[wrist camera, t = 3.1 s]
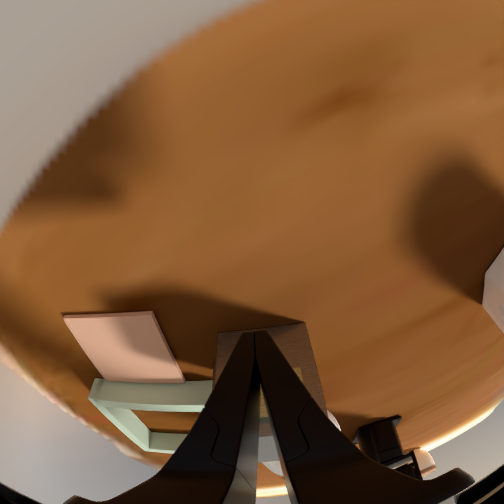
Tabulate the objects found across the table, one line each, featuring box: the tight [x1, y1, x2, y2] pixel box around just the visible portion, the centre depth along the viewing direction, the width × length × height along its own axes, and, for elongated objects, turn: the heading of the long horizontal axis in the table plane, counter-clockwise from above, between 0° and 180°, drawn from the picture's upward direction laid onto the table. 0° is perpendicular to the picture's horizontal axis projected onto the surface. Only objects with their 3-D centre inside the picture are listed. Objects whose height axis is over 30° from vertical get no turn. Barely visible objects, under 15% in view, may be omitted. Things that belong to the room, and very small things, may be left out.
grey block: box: [212, 323, 329, 462], centre depth 16 cm, size 5×6×8 cm
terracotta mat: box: [63, 311, 185, 383], centre depth 20 cm, size 8×8×1 cm
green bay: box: [88, 378, 213, 453], centre depth 24 cm, size 13×13×2 cm
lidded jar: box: [394, 448, 437, 477], centre depth 42 cm, size 11×11×9 cm
